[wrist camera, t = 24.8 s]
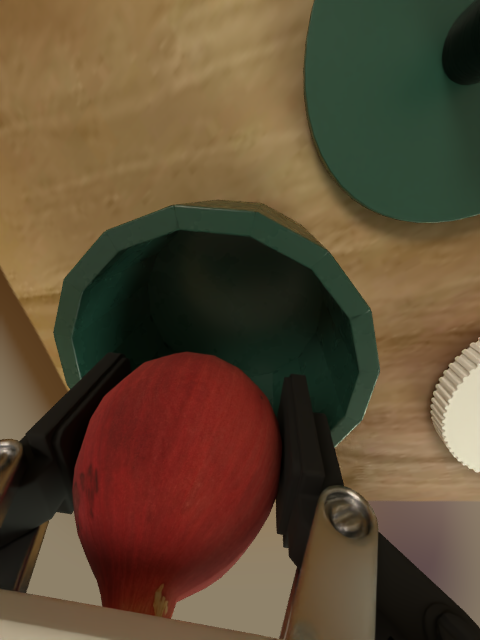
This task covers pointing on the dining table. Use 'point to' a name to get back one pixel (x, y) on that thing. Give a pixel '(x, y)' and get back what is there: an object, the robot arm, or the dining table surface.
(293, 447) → the robot arm
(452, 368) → the plastic lid
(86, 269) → the pot
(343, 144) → the lid
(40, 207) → the dining table surface
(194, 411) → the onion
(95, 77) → the dining table surface
